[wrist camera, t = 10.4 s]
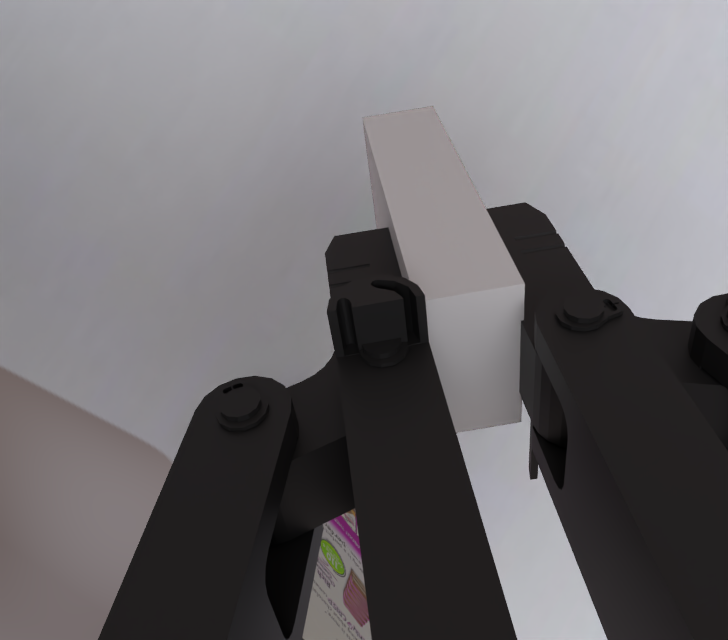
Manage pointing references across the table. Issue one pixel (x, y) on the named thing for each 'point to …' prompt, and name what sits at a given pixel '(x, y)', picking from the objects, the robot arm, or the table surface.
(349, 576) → the candy bar box
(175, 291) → the table surface
